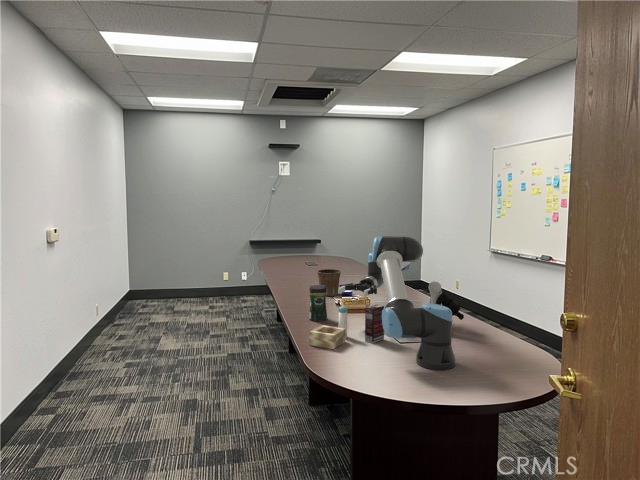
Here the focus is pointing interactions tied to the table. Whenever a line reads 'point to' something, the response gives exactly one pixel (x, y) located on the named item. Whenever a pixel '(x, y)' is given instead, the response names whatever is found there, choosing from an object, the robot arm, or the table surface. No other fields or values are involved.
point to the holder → (327, 336)
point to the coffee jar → (317, 302)
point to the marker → (343, 319)
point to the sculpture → (443, 299)
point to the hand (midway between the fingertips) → (351, 292)
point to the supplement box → (374, 324)
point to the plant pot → (329, 280)
